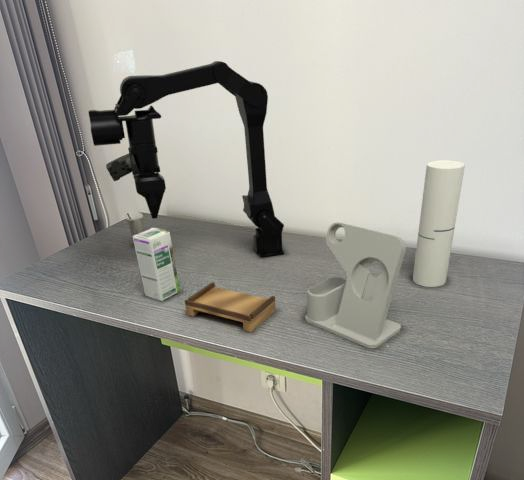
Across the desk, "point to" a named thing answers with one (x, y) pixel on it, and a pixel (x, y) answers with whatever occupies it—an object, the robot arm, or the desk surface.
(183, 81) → the robot arm
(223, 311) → the wooden tray
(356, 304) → the phone holder
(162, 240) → the syrup box
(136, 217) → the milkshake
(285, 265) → the desk surface
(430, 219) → the cylindrical container
